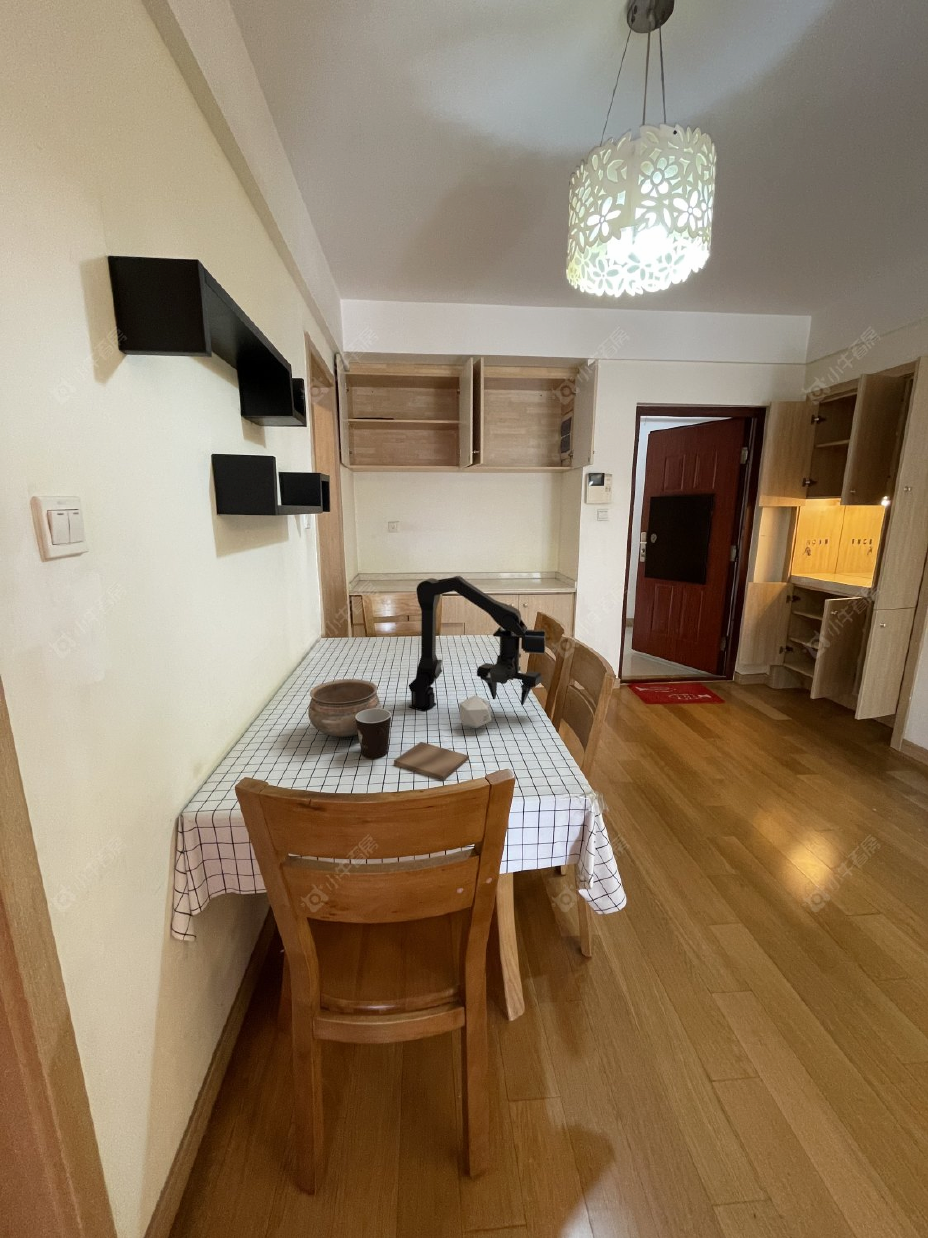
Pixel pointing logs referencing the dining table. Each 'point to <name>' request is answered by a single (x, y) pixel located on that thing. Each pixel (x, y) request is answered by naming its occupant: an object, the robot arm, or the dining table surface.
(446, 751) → the board
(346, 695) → the cooking pot
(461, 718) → the die
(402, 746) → the dining table surface
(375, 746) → the coffee mug
